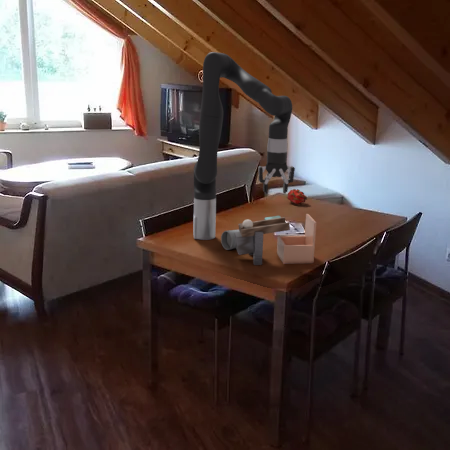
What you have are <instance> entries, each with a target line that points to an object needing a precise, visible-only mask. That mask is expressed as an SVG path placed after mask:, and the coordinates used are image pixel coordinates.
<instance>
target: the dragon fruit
mask: <svg viewBox="0 0 450 450" xmlns="http://www.w3.org/2000/svg"><path fill="white" fill-rule="evenodd" d="M286 199H287V200H288V201H290V203H291V204H295V205H299V206H301V205H302V204H303V203H306V200H307V201H308V197H307V195H306V194H305V192H303V191H301V190H300V189H297V188H296V189H295V188H293V189H290V190H288V192H287V196H286Z"/></svg>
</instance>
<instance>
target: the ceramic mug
mask: <svg viewBox="0 0 450 450" xmlns="http://www.w3.org/2000/svg"><path fill="white" fill-rule="evenodd" d="M234 232H240V231H239V229H232V230H231V229H230V230H224V231H223V232H222V233H221V237H220V242H221V245H222V247H223V249H224V250H227V251H231V250H234V249H235V250H236V242H235V233H234Z"/></svg>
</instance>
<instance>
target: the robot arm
mask: <svg viewBox="0 0 450 450" xmlns="http://www.w3.org/2000/svg"><path fill="white" fill-rule="evenodd" d="M202 65H203V66H202V93H201V94H202V95H201V106H200V113H199V122H198V123H199V124H198V138H199V152H198V155H197V161H196V162H195V163H194V167H193V216H192V217H193V219H192V220H193V221H192V224H193V225H192V226H193V227H192V228H193V229H192V230H193V232H192V233H193V235H192V236H193V239H194V240H202V241H208V240H213V239H215V238H216V225H217V223H216V219H217V217H216V216H217V188H216V187H217V185H216V184H217V183H216V181H217V180H216V179H217V176H218V151H219V144H220V140H221V135H222V129H223V128H222V127H223V121H224V108H223V104H222V100H221V96H220V79H221V78H224V79H225V80H229V81H231V82H233V83H234V84H236V85H237V86H238V87H239V88H240V89H241V91H242V92H243V93H244V94H245V95H246V96H247V97H249V98H250V99H251V100H253V101H255V102H256V103H258V104H259V106H260V107H261V108H262V109H263V110H264V111H265V112H266V113H268V114H269V115H271V116H274V119H273V120H272V122H271V123H270V124H269V126H268V140H267V145H266V146H267V147H266V150H267V151H266V154H267V155H266V165H265V166H261V165H259V166H258V167H257V168H258V169H257V171H258V181H259V182H260V183H262V184H263V186H262V191H263V192H264V194H268V192H269V191H268V189H269V184H268V183H269V182H270V180H271V179H272V178H276V177H277V178H281V179H282V181H283V184H282V185H283V186H282V193H283V195H285V194H287V193H288V192H289V184H291V183H293V182H294V177H295V169H296V168H295V167H294V166H293V165H291V166H290V165H289V166H288V162H287V161H288V128H289V124H290V120H291V116H292V113H293V103H292V99H291V98H290V97H289V96H287V95H275V94H274V93H272V92H273V91H272V89H271V88H270V87H269V86H268V85H267V84H265V83H263V82H262V81H261V80H259V79H258V78H256V77H254V76H253V75H251V74H250V73H249V72H247V71H246V70H245V69H244V68H243V67H241V66H240V65H239V64H238V63H237V62H236V61H235V60H234V59H233V58H232V57H231V56H230V55H228V54H226V53H223V52H216V51H211V52H208V53H207V54H206V56H205V57H204V60H203V64H202ZM265 170H266V172H267V173H266V175H265V178H263V177H264V176H263V175H264V173H265ZM287 171H288V172H289V175H288V178H287V176H286V175H285V174H286V172H287Z"/></svg>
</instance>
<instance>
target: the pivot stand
mask: <svg viewBox="0 0 450 450" xmlns="http://www.w3.org/2000/svg"><path fill="white" fill-rule="evenodd" d="M253 244H254V253H248V254H249V255H248V256H253V257H252V258H253V260H252V264H253V265H254V266H261V265H263V251H264V234H263V231H254V236H253Z"/></svg>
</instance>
